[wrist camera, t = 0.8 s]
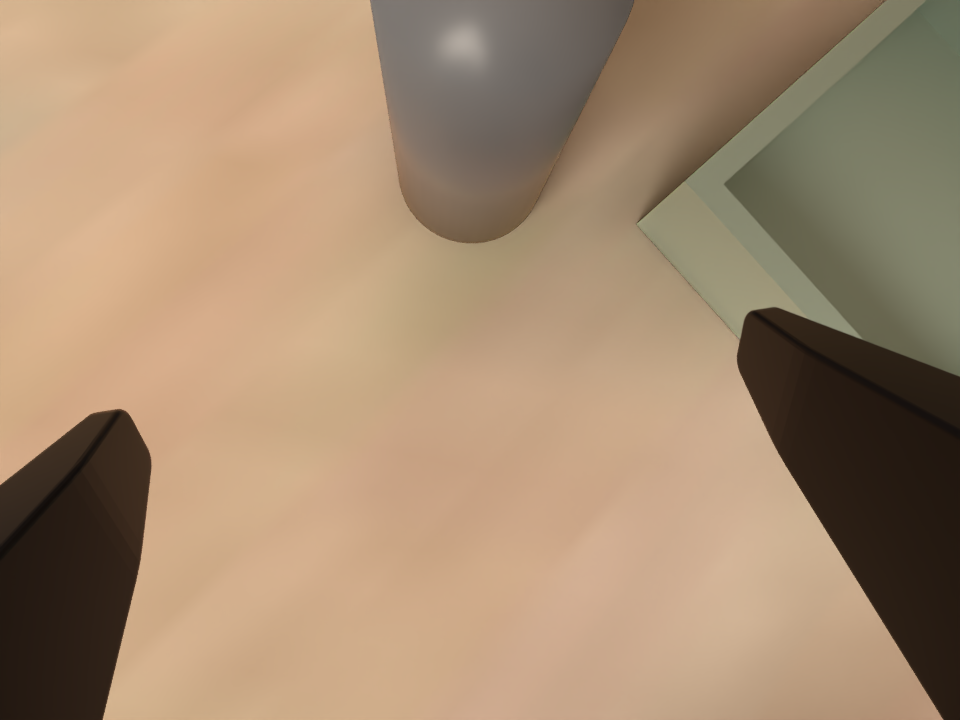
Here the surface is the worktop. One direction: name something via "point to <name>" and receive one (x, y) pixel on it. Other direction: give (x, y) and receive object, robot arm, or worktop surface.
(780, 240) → the sage bin
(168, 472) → the worktop surface
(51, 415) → the worktop surface
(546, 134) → the ball
